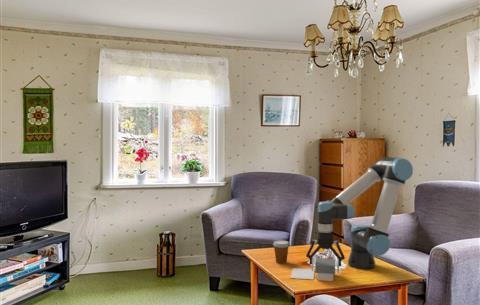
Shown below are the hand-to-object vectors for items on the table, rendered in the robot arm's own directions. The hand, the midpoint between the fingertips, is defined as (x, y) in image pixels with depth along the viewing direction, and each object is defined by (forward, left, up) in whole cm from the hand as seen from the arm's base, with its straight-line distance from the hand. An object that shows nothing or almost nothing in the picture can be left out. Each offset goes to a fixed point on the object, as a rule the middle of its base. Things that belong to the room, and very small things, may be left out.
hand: (325, 271), depth 215 cm
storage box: (0, 0, -3) cm, 3 cm away
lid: (0, 0, +1) cm, 1 cm away
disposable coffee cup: (+26, -21, -3) cm, 34 cm away
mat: (+12, -2, -3) cm, 12 cm away
